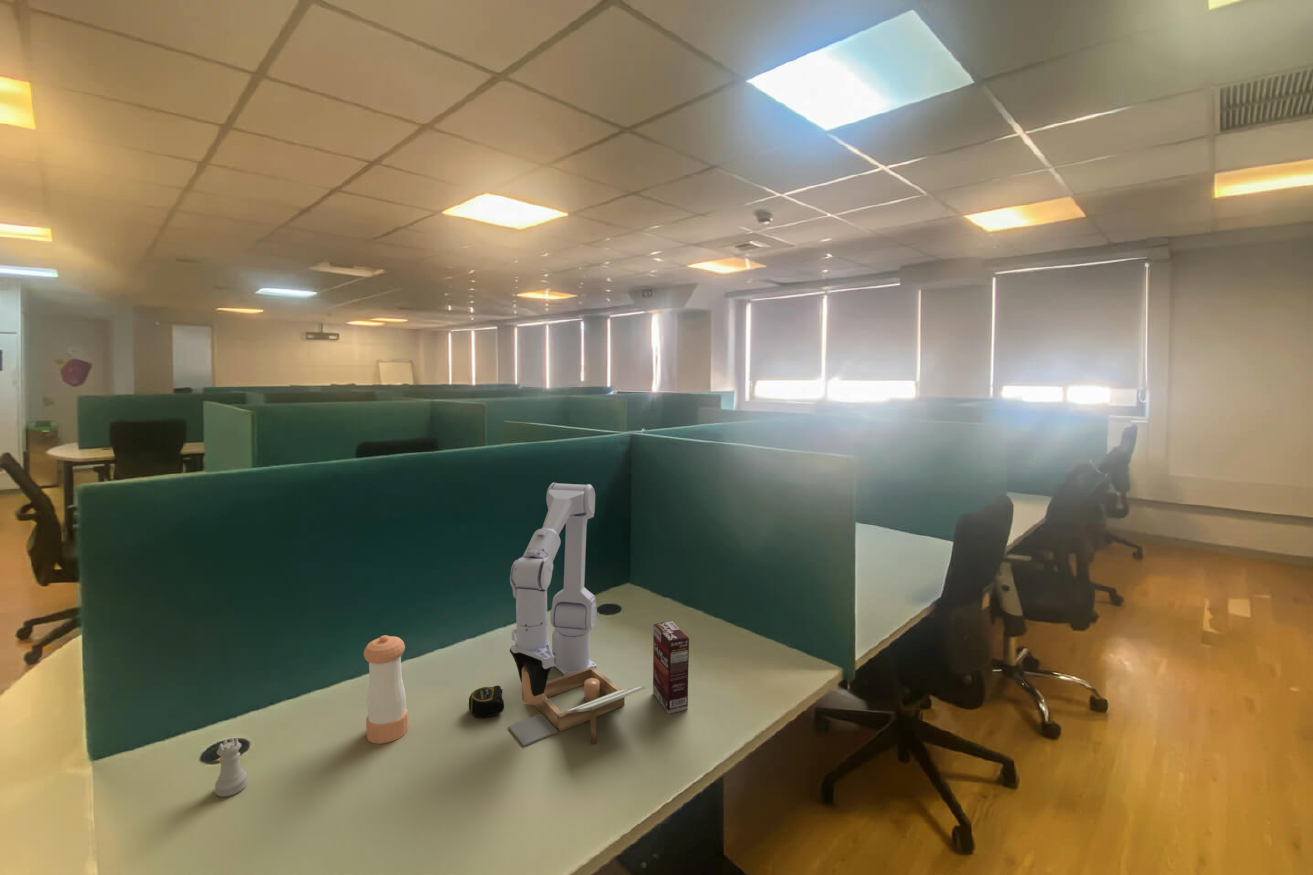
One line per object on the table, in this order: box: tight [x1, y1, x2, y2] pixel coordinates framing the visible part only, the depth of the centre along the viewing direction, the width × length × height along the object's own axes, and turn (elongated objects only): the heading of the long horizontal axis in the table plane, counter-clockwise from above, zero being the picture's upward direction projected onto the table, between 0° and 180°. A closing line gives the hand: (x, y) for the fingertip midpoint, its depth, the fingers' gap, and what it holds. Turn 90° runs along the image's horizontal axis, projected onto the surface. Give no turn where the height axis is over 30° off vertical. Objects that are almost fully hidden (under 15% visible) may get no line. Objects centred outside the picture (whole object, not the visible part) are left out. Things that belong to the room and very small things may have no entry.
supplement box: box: [652, 620, 690, 715], centre depth 119 cm, size 9×5×16 cm, turn 23°
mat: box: [508, 712, 559, 747], centre depth 110 cm, size 7×7×1 cm
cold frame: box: [534, 666, 646, 745], centre depth 115 cm, size 22×15×9 cm
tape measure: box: [468, 685, 505, 718], centre depth 116 cm, size 7×7×4 cm
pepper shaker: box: [363, 634, 410, 745], centre depth 108 cm, size 7×7×19 cm
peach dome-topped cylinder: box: [521, 666, 545, 706], centre depth 109 cm, size 4×4×6 cm
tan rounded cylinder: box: [583, 678, 600, 702], centre depth 121 cm, size 3×3×4 cm
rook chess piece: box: [214, 737, 249, 798], centre depth 93 cm, size 4×4×8 cm
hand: (532, 688), depth 109 cm, fingers closed on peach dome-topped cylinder, 4 cm apart
